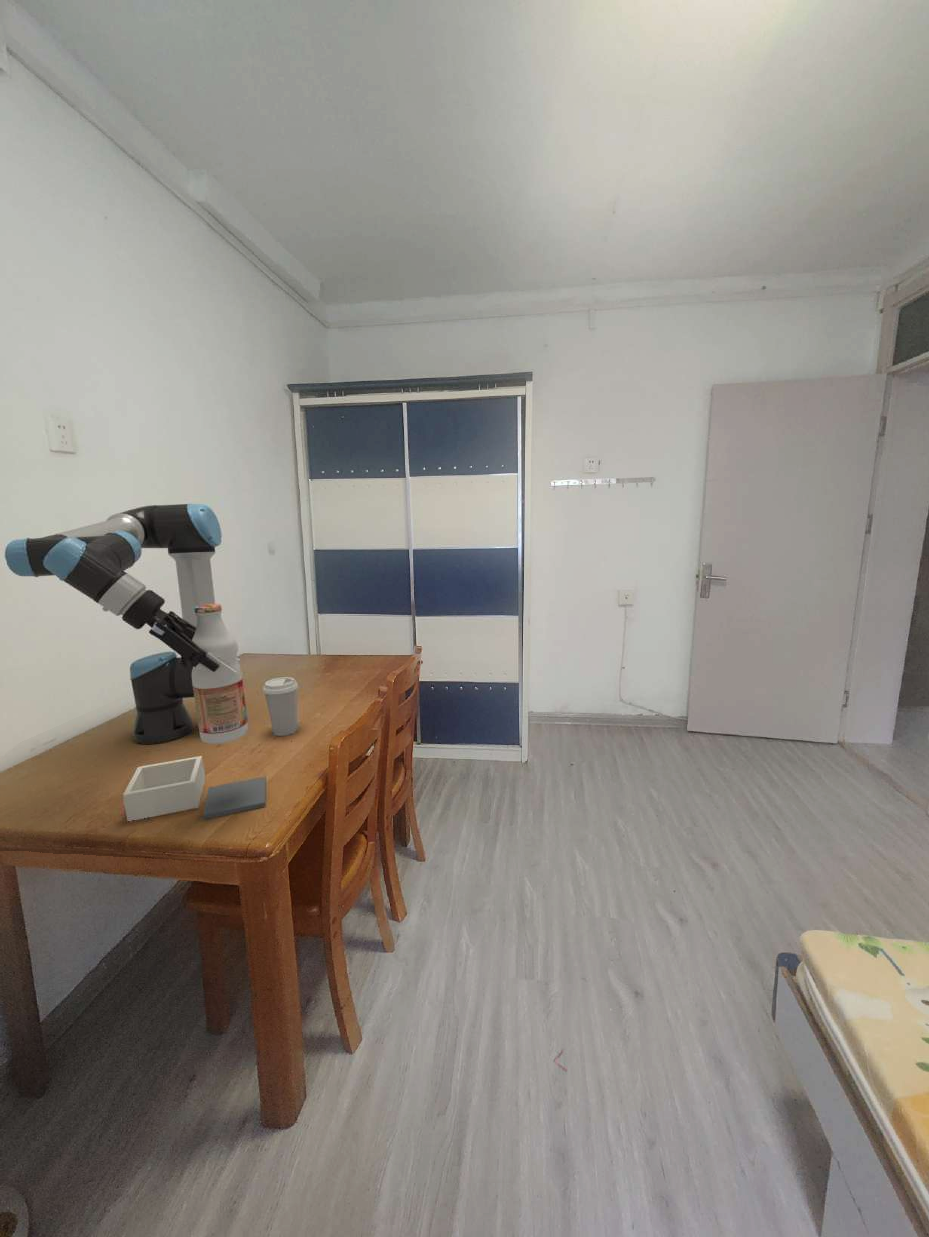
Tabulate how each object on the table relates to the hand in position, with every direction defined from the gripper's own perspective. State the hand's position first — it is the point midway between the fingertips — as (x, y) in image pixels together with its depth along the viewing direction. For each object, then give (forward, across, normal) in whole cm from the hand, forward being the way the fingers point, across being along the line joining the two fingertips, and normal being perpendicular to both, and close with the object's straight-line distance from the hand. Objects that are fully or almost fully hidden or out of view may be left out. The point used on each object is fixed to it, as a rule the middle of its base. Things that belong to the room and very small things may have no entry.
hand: (233, 670), depth 107 cm
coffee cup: (+26, -34, -15) cm, 46 cm away
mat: (+18, 0, -22) cm, 29 cm away
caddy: (+8, -6, -32) cm, 34 cm away
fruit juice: (+8, 0, -12) cm, 14 cm away
